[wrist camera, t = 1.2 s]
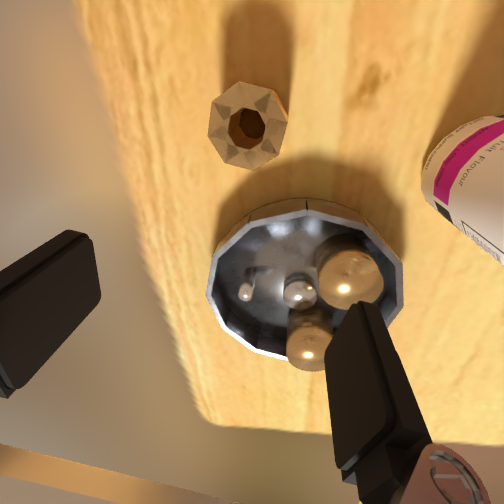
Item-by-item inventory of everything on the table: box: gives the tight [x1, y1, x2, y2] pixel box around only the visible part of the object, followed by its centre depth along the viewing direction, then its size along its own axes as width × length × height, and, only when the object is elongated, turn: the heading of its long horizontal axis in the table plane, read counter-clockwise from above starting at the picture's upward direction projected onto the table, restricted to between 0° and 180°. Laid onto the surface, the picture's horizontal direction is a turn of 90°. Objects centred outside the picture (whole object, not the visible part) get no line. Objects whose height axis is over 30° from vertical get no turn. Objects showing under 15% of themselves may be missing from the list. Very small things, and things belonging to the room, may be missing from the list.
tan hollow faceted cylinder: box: [208, 81, 288, 171], centre depth 21 cm, size 5×5×5 cm
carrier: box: [206, 198, 404, 371], centre depth 28 cm, size 20×20×6 cm
